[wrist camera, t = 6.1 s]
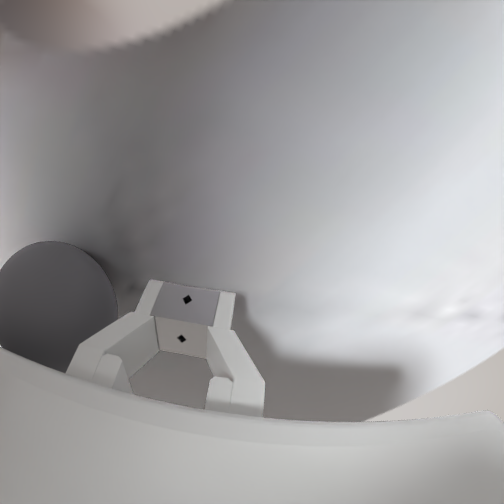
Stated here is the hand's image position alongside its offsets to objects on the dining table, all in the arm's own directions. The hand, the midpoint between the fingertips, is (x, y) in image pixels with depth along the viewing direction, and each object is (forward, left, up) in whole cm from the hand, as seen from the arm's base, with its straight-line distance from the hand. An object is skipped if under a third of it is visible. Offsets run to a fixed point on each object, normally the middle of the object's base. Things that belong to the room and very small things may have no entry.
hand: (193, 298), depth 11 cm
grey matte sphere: (+1, -6, +1) cm, 6 cm away
